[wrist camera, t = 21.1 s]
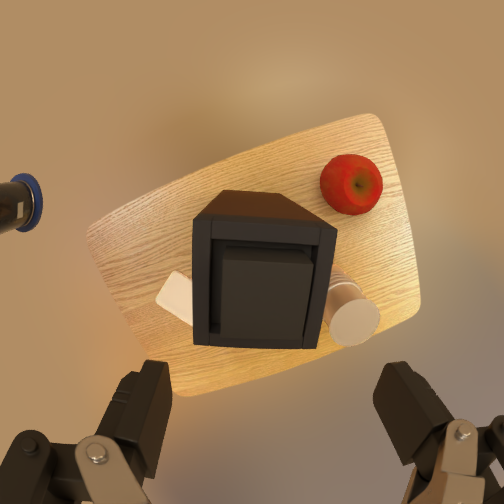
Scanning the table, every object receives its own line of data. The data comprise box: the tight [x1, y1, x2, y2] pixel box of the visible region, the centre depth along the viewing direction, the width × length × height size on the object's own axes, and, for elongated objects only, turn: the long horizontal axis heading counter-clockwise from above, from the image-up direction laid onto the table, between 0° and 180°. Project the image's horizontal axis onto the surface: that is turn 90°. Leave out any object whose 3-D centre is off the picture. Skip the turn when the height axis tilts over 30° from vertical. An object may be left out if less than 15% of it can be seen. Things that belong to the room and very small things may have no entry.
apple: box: [320, 154, 383, 215], centre depth 36 cm, size 9×8×11 cm
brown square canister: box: [192, 190, 338, 349], centre depth 30 cm, size 9×9×26 cm
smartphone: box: [155, 270, 193, 327], centre depth 46 cm, size 7×1×15 cm
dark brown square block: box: [220, 245, 314, 340], centre depth 17 cm, size 5×5×3 cm
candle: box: [323, 264, 380, 346], centre depth 39 cm, size 7×7×15 cm
